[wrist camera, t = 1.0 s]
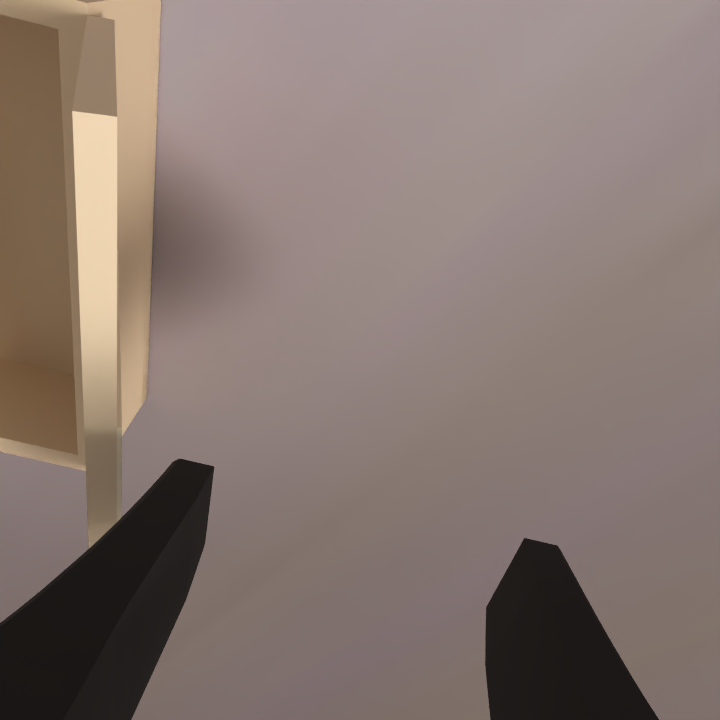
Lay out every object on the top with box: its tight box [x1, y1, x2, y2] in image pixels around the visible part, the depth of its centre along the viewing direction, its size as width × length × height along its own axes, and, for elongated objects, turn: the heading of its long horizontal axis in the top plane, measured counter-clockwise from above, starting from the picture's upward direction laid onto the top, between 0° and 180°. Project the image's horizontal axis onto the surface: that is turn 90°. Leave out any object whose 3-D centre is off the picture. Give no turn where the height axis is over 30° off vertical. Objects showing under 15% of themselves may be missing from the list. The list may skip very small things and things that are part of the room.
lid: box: [72, 15, 122, 548], centre depth 13 cm, size 13×6×1 cm
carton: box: [0, 0, 161, 471], centre depth 17 cm, size 13×7×4 cm, turn 168°
